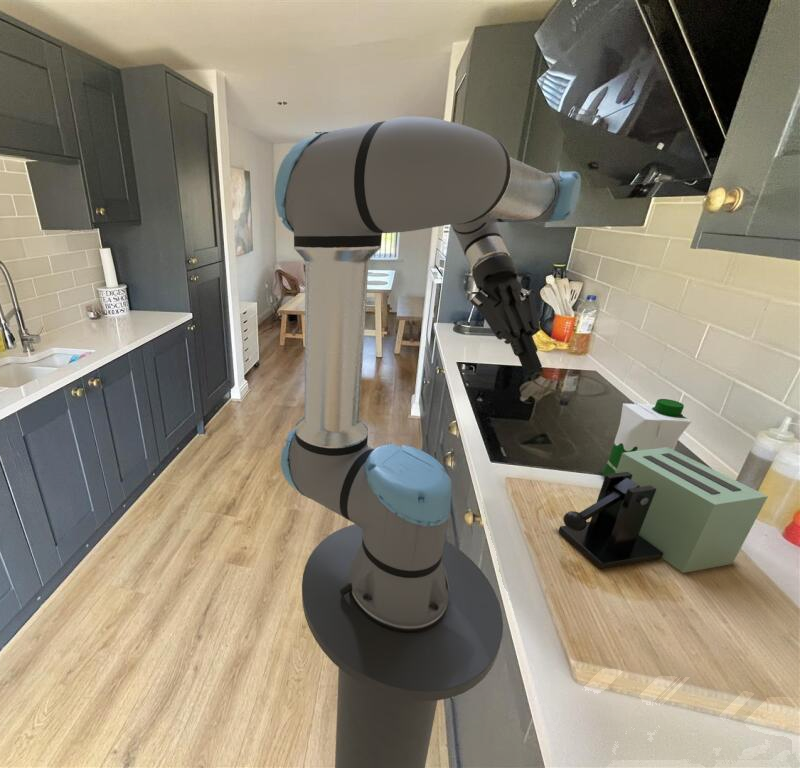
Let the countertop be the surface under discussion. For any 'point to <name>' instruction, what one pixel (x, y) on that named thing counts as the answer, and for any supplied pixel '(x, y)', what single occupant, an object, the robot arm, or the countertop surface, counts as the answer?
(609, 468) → the milk carton
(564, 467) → the countertop surface
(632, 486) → the black lever handle
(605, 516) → the lever bracket
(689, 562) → the toaster
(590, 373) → the countertop surface
